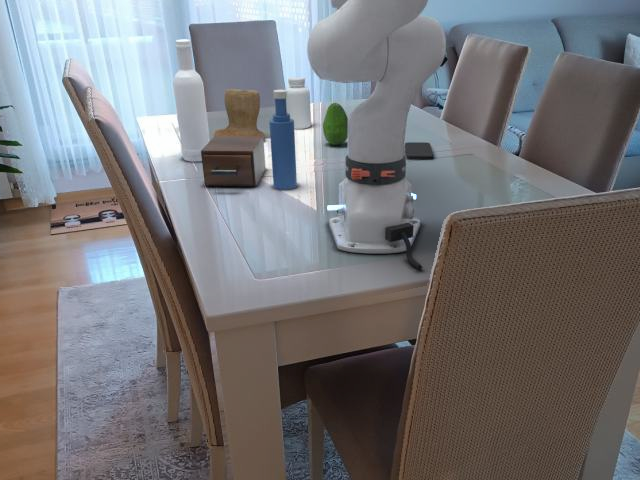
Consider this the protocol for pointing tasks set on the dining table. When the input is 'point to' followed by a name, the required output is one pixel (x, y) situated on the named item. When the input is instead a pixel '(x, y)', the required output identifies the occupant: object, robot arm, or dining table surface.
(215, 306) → the dining table surface
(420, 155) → the phone
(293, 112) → the pill bottle
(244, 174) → the drawer
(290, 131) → the bottle
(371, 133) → the robot arm
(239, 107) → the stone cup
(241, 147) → the cabinet
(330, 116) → the avocado
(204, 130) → the bottle
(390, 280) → the dining table surface
